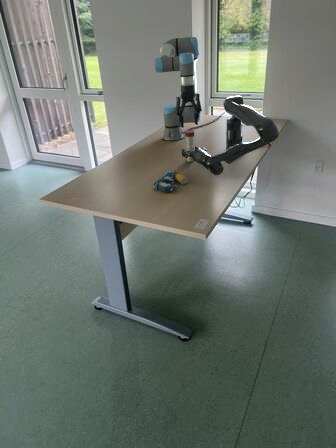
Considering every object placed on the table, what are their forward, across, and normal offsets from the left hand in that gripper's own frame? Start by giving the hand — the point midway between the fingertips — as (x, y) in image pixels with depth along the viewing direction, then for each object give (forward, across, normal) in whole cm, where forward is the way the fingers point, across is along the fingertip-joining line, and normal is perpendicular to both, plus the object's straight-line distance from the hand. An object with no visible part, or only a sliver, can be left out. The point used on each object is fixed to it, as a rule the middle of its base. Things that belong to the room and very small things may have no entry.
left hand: (189, 125), depth 196 cm
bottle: (+21, 0, 0) cm, 21 cm away
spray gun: (+21, +25, +27) cm, 42 cm away
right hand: (+15, 0, -2) cm, 15 cm away
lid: (+4, 0, 0) cm, 4 cm away
